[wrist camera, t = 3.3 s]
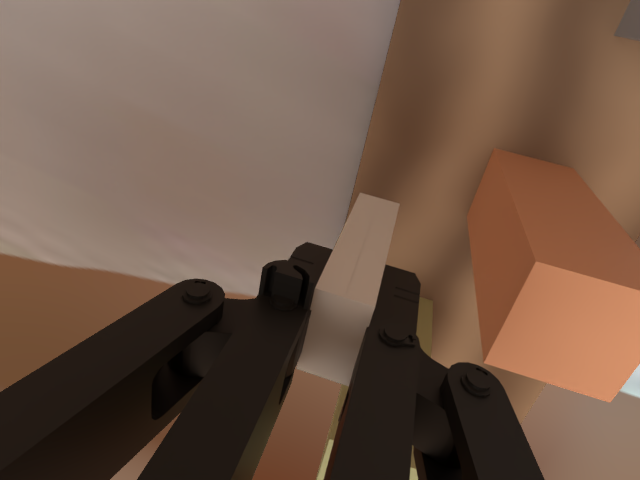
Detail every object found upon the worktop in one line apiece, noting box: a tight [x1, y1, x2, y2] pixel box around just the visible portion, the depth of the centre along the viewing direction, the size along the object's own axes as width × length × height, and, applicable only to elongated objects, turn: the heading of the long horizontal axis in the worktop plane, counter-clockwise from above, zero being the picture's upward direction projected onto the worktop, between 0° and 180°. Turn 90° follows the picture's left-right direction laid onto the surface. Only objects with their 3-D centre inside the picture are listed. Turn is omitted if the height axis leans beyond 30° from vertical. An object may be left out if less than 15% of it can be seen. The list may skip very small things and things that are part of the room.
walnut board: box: [345, 0, 640, 424], centre depth 24 cm, size 15×31×1 cm, turn 169°
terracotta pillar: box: [467, 148, 640, 403], centre depth 19 cm, size 4×4×12 cm
